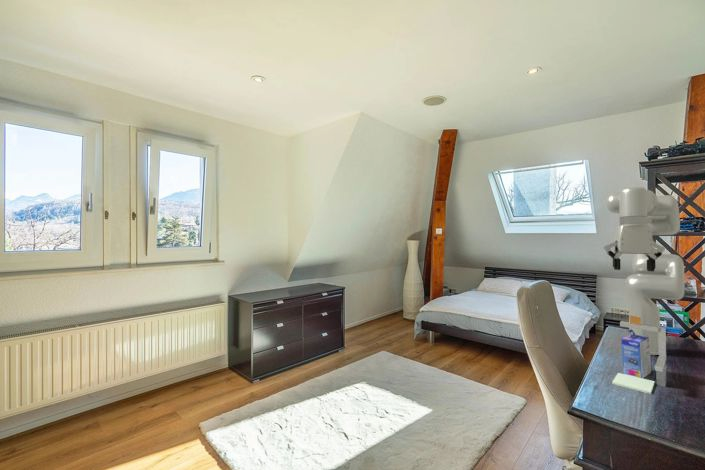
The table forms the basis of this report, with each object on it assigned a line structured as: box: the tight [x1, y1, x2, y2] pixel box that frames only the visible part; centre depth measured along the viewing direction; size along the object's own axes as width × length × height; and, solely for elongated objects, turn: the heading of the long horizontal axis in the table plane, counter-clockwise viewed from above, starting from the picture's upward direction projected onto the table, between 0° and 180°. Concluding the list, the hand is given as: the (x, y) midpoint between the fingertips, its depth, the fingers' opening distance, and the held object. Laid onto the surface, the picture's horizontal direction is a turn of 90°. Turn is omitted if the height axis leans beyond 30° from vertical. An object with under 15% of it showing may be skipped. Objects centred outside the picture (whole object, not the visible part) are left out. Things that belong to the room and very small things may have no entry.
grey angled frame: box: [619, 315, 667, 372], centre depth 105 cm, size 15×11×13 cm
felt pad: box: [611, 372, 656, 395], centre depth 102 cm, size 11×9×1 cm
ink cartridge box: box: [620, 329, 652, 379], centre depth 110 cm, size 10×6×14 cm, turn 124°
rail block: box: [655, 363, 667, 387], centre depth 102 cm, size 4×2×6 cm, turn 132°
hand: (633, 270), depth 114 cm, fingers open, 9 cm apart
